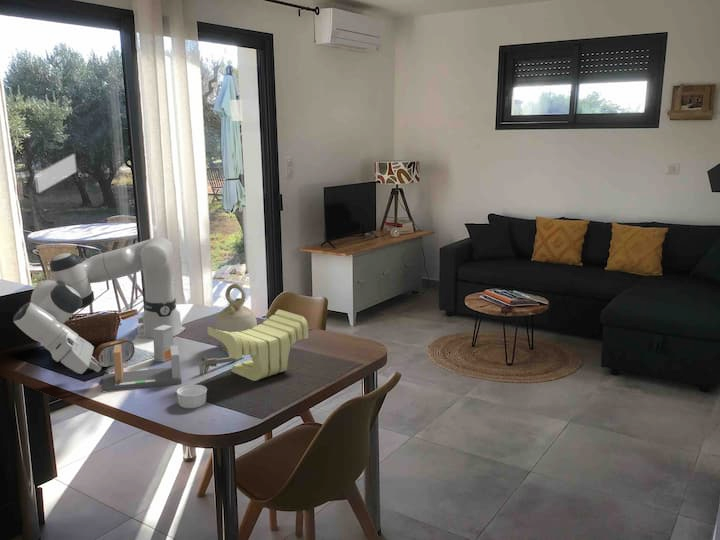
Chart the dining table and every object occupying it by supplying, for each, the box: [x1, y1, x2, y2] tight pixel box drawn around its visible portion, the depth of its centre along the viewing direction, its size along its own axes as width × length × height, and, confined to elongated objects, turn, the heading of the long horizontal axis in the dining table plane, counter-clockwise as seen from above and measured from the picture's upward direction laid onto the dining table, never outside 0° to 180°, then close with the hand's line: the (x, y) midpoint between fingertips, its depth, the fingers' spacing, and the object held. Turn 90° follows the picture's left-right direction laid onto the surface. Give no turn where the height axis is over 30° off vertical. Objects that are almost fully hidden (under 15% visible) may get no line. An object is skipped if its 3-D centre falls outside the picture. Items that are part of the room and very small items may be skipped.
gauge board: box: [101, 344, 182, 393], centre depth 203 cm, size 24×12×10 cm, turn 108°
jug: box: [215, 283, 258, 353], centre depth 234 cm, size 15×16×25 cm
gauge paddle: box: [113, 344, 124, 384], centre depth 199 cm, size 2×10×10 cm, turn 18°
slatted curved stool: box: [207, 308, 309, 382], centre depth 211 cm, size 30×16×18 cm, turn 137°
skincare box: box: [152, 325, 174, 363], centre depth 223 cm, size 6×4×12 cm
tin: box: [92, 338, 135, 368], centre depth 218 cm, size 15×3×8 cm, turn 145°
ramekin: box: [176, 384, 208, 409], centre depth 186 cm, size 9×9×4 cm
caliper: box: [198, 356, 244, 376], centre depth 217 cm, size 20×1×6 cm, turn 147°
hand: (100, 369), depth 199 cm, fingers closed
